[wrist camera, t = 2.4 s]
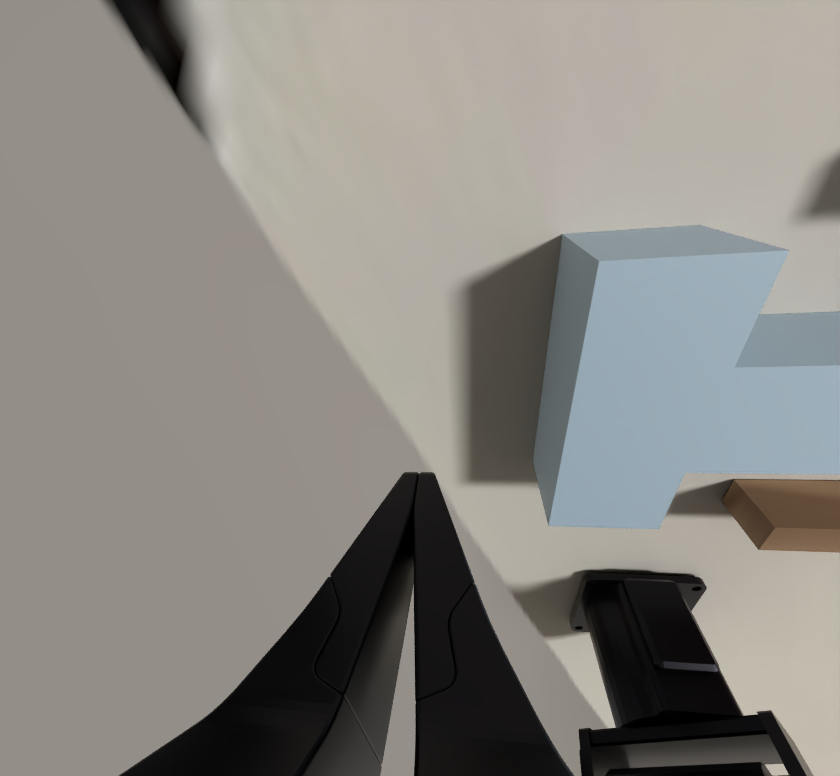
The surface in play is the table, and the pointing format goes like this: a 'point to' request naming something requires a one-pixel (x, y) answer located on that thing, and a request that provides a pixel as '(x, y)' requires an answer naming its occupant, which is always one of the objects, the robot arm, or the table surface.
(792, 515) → the pocket
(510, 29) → the table surface
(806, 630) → the table surface
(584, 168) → the table surface
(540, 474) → the t block
